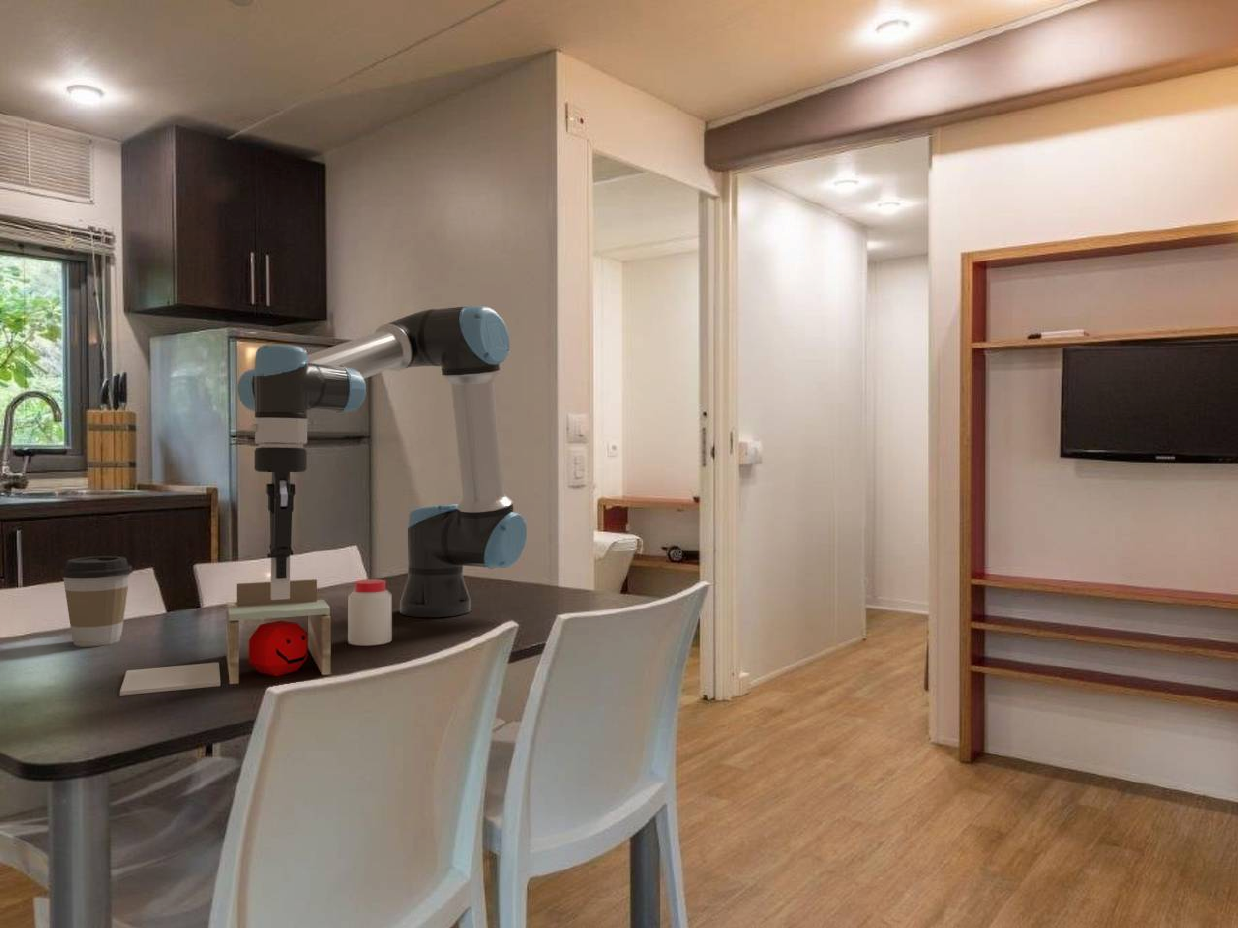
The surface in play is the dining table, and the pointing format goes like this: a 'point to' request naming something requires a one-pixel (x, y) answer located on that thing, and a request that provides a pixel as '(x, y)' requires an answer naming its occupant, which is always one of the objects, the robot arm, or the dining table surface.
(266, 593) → the cover
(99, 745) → the dining table surface
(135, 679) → the mat
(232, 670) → the wooden goalpost gate
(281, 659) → the ball
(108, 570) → the coffee cup
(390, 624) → the pill bottle
